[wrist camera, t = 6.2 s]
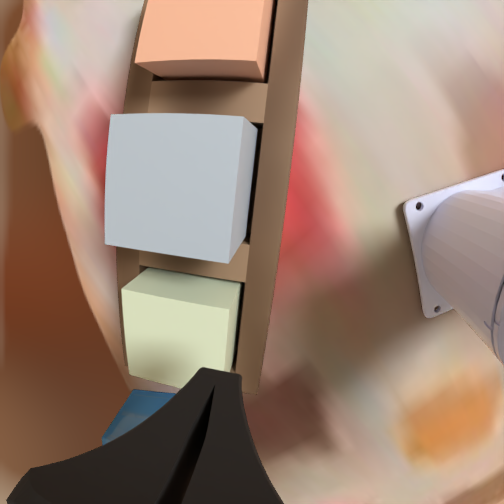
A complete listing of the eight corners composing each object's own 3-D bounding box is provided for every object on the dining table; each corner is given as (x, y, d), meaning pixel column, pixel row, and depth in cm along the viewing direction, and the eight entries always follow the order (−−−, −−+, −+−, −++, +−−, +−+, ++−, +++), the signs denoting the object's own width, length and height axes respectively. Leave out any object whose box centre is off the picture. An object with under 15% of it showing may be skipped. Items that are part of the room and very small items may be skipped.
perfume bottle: (133, 389, 24) (66, 493, 12) (201, 395, 23) (150, 522, 11) (154, 436, 25) (106, 532, 14) (215, 443, 24) (181, 554, 13)
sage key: (244, 274, 18) (229, 309, 14) (235, 352, 20) (221, 397, 15) (156, 260, 19) (121, 288, 14) (157, 336, 20) (129, 374, 16)
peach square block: (275, 4, 14) (269, -37, 9) (265, 86, 15) (256, 60, 11) (184, 5, 14) (156, -30, 10) (170, 83, 16) (134, 62, 11)
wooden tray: (308, -7, 14) (310, -31, 11) (261, 367, 21) (257, 394, 18) (169, -7, 15) (152, -27, 12) (142, 343, 22) (125, 365, 19)
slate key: (257, 129, 15) (243, 116, 10) (245, 236, 16) (228, 263, 12) (155, 124, 15) (110, 114, 11) (148, 223, 17) (104, 244, 12)
